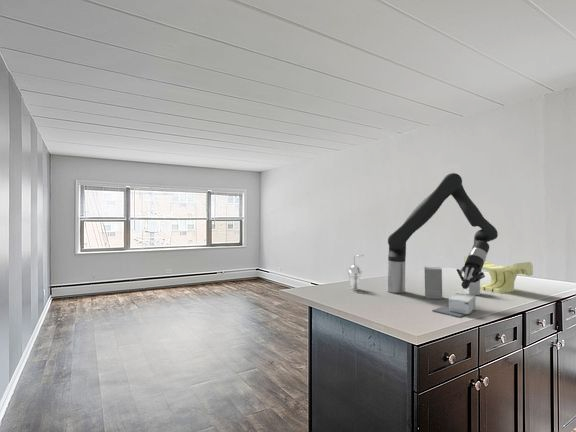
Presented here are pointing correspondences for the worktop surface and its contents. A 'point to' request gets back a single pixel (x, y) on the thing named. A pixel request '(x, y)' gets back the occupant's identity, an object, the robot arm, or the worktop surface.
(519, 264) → the slatted curved stool
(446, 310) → the mat
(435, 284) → the skincare box
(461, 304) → the skincare box
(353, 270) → the cup with straw
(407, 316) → the worktop surface
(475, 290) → the small box
